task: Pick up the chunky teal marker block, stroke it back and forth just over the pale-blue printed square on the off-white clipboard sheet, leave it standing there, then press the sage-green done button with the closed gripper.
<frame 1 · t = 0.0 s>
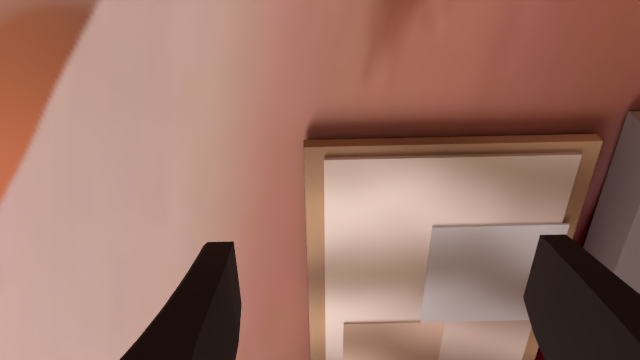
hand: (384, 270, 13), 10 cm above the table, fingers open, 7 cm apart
clipboard: (431, 280, 27), on the table
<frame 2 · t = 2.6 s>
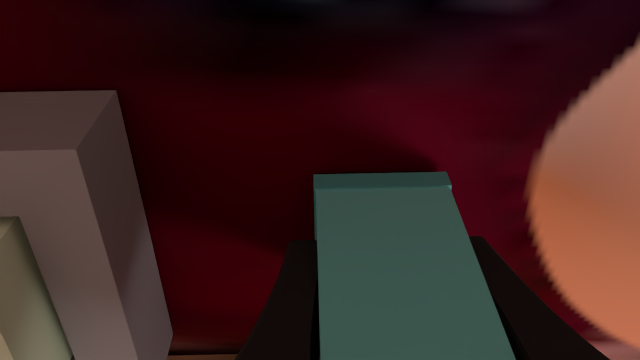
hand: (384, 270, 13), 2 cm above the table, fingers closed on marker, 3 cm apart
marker: (376, 225, 15), on the table, touching gripper
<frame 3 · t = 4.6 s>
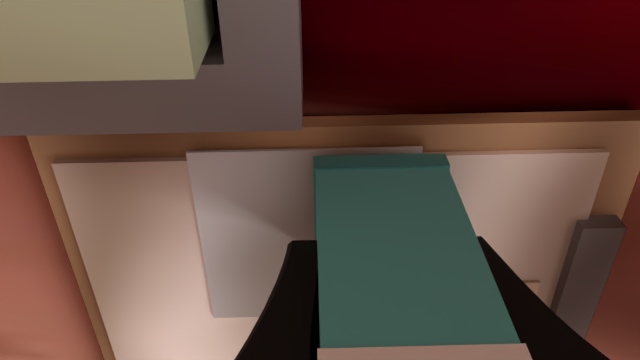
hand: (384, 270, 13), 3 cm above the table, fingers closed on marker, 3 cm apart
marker: (376, 208, 15), point 1 cm above the table, touching gripper
clipboard: (340, 282, 18), on the table
when the fingers open (3 cm above the table, at t = 6.9 s): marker stays where it is, resting on clipboard.
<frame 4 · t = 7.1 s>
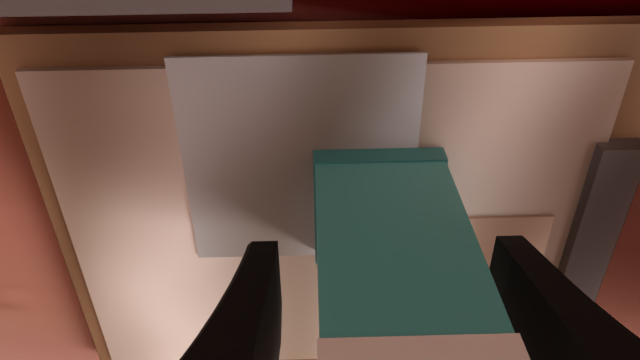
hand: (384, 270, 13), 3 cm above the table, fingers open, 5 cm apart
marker: (375, 201, 15), point 1 cm above the table, touching clipboard
clipboard: (336, 221, 16), on the table
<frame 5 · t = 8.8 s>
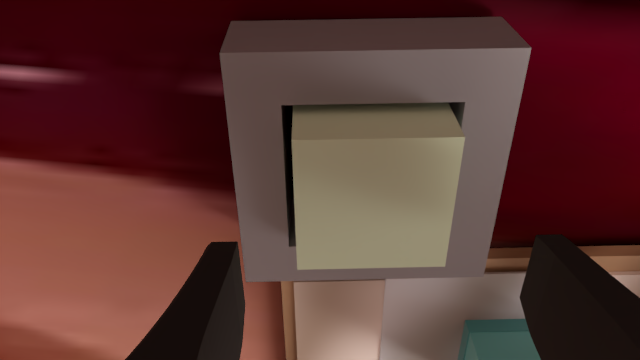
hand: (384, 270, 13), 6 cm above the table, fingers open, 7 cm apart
button housing: (362, 137, 18), on the table
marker: (499, 346, 23), point 1 cm above the table, touching clipboard
clipboard: (466, 350, 25), on the table
done button: (370, 182, 16), point 3 cm above the table, slide at 0.0 cm
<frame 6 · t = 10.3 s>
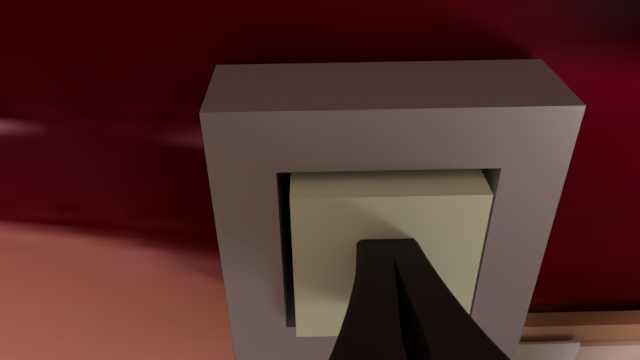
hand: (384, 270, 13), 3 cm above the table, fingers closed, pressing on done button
button housing: (372, 195, 16), on the table
done button: (379, 237, 14), point 2 cm above the table, slide at 0.8 cm, touching gripper
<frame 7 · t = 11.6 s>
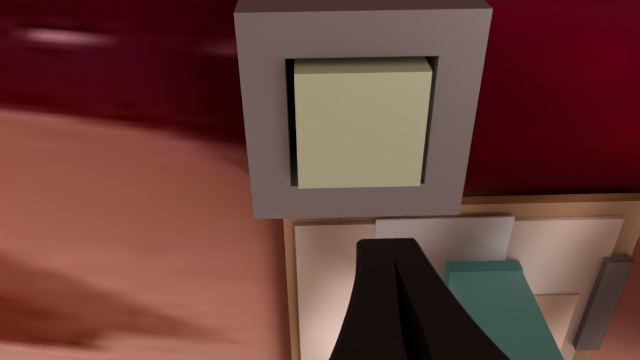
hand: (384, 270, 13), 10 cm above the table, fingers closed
button housing: (354, 94, 21), on the table
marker: (477, 287, 26), point 1 cm above the table, touching clipboard
clipboard: (449, 294, 28), on the table
done button: (358, 116, 20), point 2 cm above the table, slide at 0.8 cm
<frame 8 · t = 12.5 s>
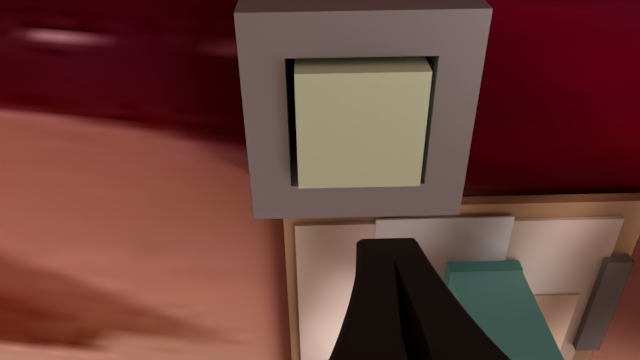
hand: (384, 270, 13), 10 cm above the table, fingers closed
button housing: (354, 94, 21), on the table
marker: (477, 287, 26), point 1 cm above the table, touching clipboard
clipboard: (449, 294, 28), on the table
done button: (358, 116, 20), point 2 cm above the table, slide at 0.8 cm
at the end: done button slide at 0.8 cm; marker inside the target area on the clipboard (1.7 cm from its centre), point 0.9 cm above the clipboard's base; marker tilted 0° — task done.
